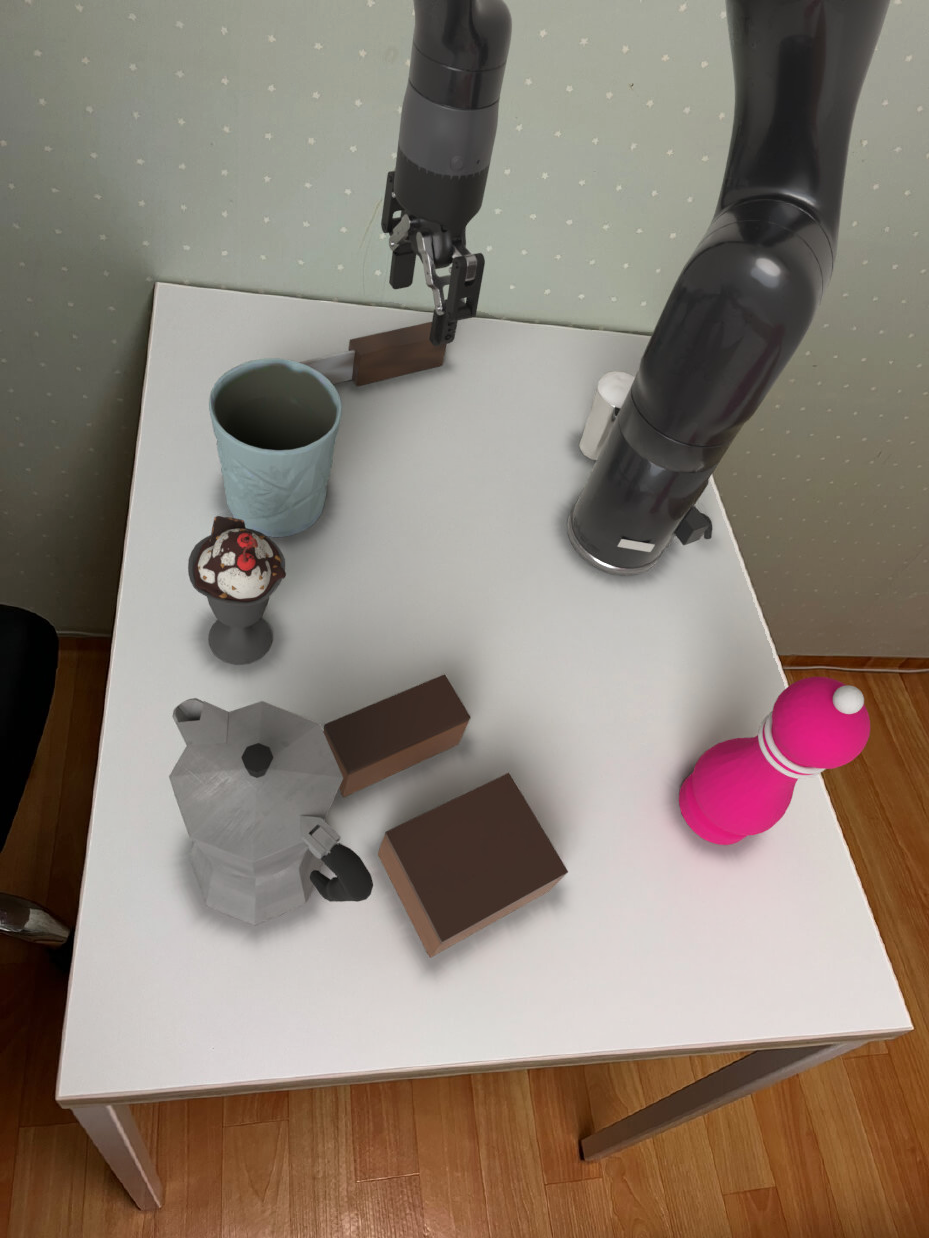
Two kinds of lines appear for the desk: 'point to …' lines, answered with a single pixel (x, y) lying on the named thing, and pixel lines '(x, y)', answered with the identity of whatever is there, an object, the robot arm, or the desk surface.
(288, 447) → the blue ceramic cup
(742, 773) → the pepper mill
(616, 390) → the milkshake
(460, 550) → the desk surface
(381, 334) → the knife
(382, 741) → the cake slice
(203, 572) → the sundae
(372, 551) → the desk surface
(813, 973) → the desk surface
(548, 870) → the cake
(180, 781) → the coffeepot
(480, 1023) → the desk surface
